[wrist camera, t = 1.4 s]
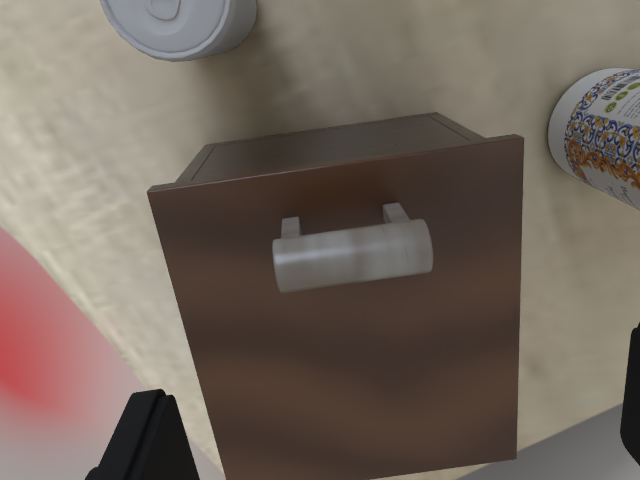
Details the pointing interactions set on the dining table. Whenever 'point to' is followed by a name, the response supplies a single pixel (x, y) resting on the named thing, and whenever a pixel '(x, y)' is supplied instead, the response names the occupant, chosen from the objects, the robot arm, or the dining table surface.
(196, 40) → the beverage can
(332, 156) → the chest
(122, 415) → the robot arm
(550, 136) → the bath foam
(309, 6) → the dining table surface
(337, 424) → the lid
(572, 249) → the dining table surface
